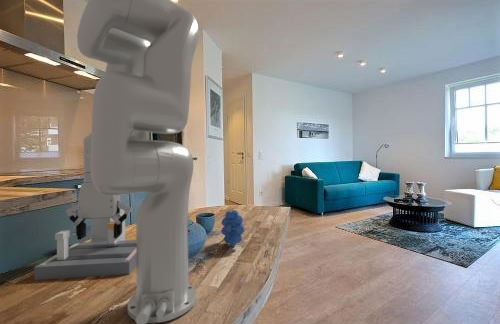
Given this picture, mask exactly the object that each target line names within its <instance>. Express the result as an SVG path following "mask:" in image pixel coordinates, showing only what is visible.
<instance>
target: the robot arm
mask: <svg viewBox="0 0 500 324" xmlns="http://www.w3.org/2000/svg"><path fill="white" fill-rule="evenodd" d="M82 12H83V13H82V15H81V16H80V17H81V18H80V20H79V24H78V27H77V28H78V29H77V34H76V39H77V40H76V43H77V48H78V50H79V52H80V53H81V55H83V56H84V57H86V58H88V59H92V60H96V61H98V62H103V63H106V67H105V72H104V73H103V75H102V76H100V77H99V79H98V81H97V83H96V85H95V88H94V92H93V97H92V98H93V100H92V109H91V110H92V113H91V118H92V119H91V133H89V135H87V136H85V137H84V139H83V183H81V184H80V189H79V193H78V201H77V204H75V205H73V206H71V207H69V208H67V209H66V210H65V212H66V214H67V216H68V217H69V218H68V219H69V220H70V221H71V222H72V223H73V225H74V226H75V228H76V230H75V231H76V232H75V234H76V236H77V237H76V238H77V240H79V241H80V240H82V239H83V238H86V237H87V223H86V222H85V221H86V220H91V219H97V218H112V220H113V221H114V222H115V223H116V224H115V225H114V238H118V237H119V236H120V235H121V234H122V222H123V221H124V220H125V221H126V219H127V218H128V217H129V215H130V213H131V211H132V209H133V207H132V206H129V205H127V204H124V203H123V202H121V200H122V199H121V195H127V194H128V195H129V194H138V193H146V194H145V196H144V198H143V200H142V201H141V203H140V205H139V207H138V209H137V213H136V220H135V221H136V223H135V225H136V235H135V236H136V239H135V240H136V258H137V265H136V292H135V293H134V294H133V295H132V296H131V297H130V298H129V300H128V302H127V307H126V309H127V311H126V312H127V314H128V316H129V317H130V319H132V320H134V321H135V323H136V324H158V323H164V322H168V321H171V320H174V319H176V318H179V317H181V316H183V315H184V314H185V313H187V312H188V311H190V310H191V309H192V308H193V307H194V306H195V304H196V301H197V291H196V288H195V287H194V286H193V285H192V284H190V283H189V203H190V202H189V199H190V191H191V190H190V189H191V183H192V179H193V174H194V160H193V159H194V157H193V155H192V153H191V151H190V150H189V149H188V148H187V147H186V146H185V145H183V144H181V143H178V142H175V141H170V140H169V141H168V140H154V139H148V138H149V133H151V134H163V135H164V134H165V135H167V134H169V135H170V134H171V135H172V134H178V133H181V132H182V131H183V130H184V129H185V128H186V126H187V124H188V119H189V111H190V98H191V85H192V84H191V81H192V66H193V65H192V64H193V61H194V56H195V52H196V50H197V45H198V41H199V36H200V35H199V31H200V30H199V25H198V22H197V19H196V17H195V16H194V14H193V13H192V12H190V11H189V10H187V9H185V8H184V7H182V6H180V5H178V4H176V3H174V2H172V1H171V0H87V3H86V5H85V7H84V10H83V11H82ZM131 132H132V134H131ZM121 209H122V210H124V214H123V215H122V216H121V215H120V213H121ZM76 211H77V214H76Z"/></svg>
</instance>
